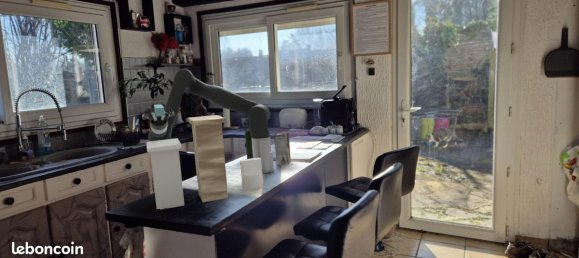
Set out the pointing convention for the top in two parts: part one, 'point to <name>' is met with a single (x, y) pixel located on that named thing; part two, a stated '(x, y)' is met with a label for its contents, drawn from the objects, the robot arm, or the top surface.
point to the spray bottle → (248, 142)
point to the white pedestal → (166, 172)
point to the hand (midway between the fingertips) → (158, 105)
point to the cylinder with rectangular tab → (251, 173)
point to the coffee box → (282, 148)
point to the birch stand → (209, 157)
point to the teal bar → (159, 110)
